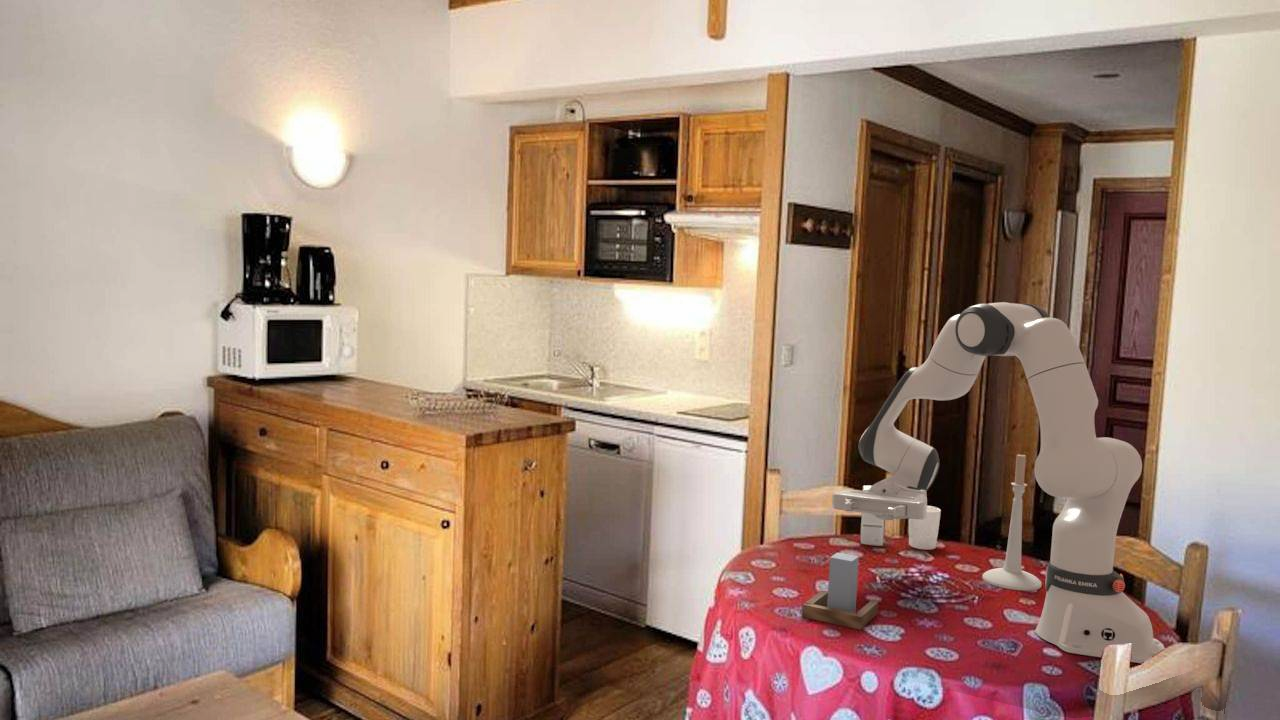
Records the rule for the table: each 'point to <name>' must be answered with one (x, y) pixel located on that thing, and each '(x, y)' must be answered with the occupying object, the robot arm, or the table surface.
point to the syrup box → (871, 527)
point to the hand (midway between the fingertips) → (869, 510)
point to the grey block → (843, 582)
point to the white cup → (925, 530)
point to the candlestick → (1014, 544)
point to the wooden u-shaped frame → (838, 612)
